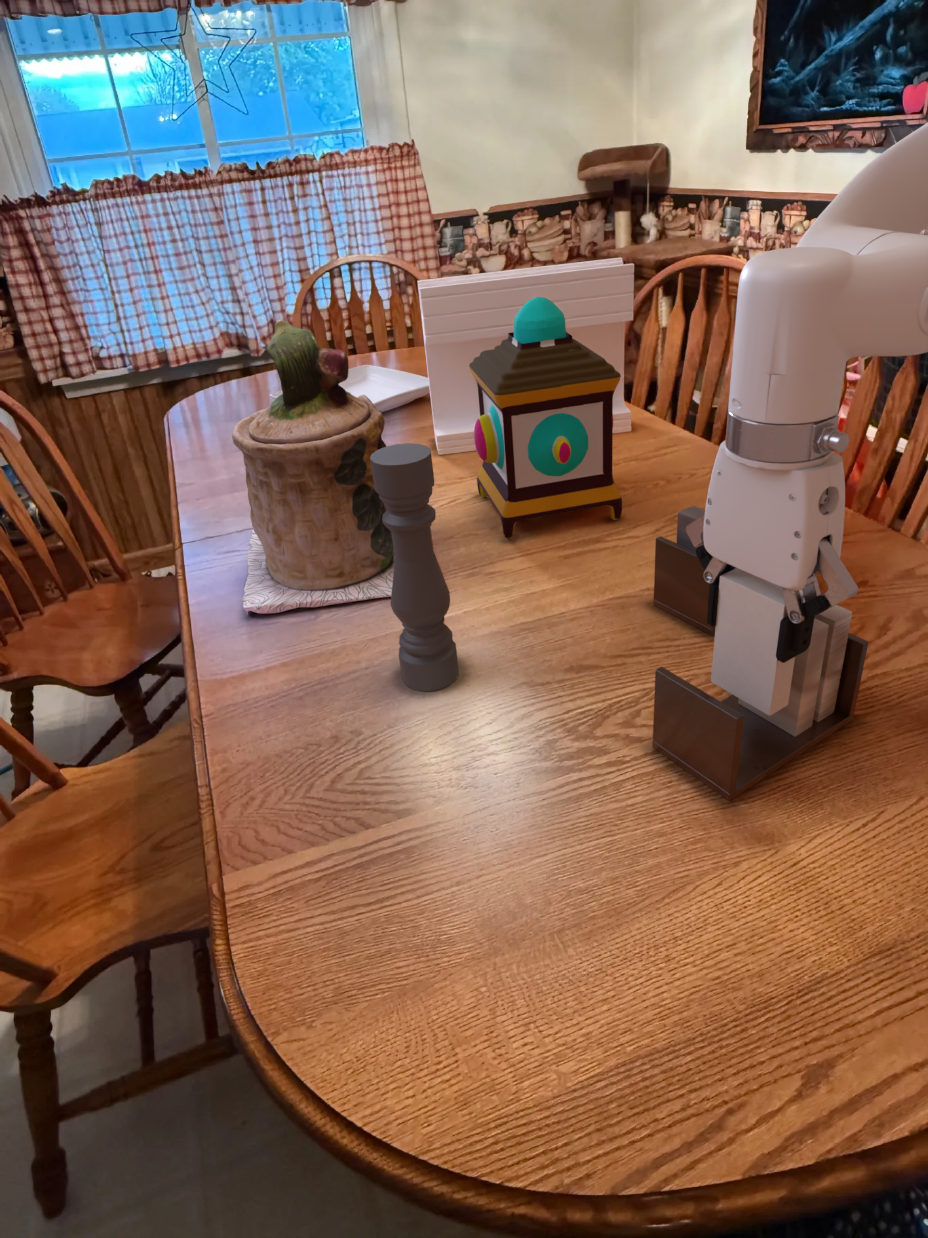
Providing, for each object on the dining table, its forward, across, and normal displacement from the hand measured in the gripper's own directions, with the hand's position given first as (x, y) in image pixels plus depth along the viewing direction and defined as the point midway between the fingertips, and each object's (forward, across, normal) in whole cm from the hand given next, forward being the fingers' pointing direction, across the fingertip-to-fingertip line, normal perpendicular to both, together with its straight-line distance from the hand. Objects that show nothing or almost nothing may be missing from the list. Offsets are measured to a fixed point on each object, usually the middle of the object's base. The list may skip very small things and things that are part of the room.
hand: (755, 635), depth 69 cm
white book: (+6, 0, 0) cm, 6 cm away
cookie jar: (+12, +59, +13) cm, 61 cm away
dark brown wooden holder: (+11, +18, -19) cm, 29 cm away
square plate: (+12, +125, -24) cm, 128 cm away
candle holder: (+12, +28, +17) cm, 35 cm away
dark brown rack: (+11, 0, -1) cm, 11 cm away
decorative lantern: (+12, +53, -19) cm, 58 cm away
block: (+12, +80, -37) cm, 89 cm away
